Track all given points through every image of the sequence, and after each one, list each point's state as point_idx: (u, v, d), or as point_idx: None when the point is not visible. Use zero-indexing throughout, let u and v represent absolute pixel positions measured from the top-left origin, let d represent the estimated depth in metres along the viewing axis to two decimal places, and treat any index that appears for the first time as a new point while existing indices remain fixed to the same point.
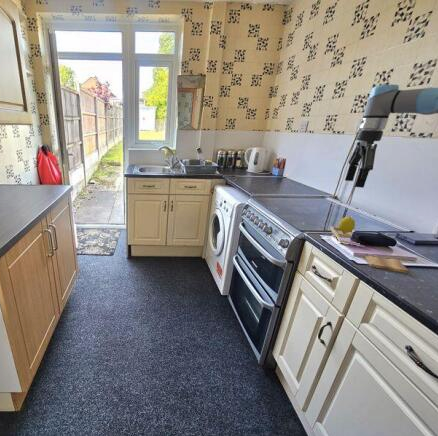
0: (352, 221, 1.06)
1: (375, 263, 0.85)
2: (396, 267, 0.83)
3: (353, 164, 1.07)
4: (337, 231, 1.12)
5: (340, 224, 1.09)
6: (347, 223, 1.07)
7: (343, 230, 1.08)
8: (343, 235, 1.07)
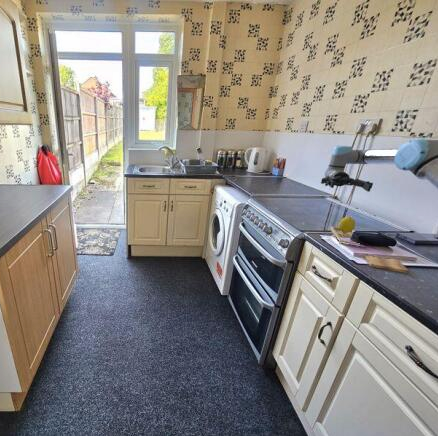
0: (352, 221, 1.06)
1: (375, 263, 0.85)
2: (396, 267, 0.83)
3: None
4: (337, 231, 1.12)
5: (340, 224, 1.09)
6: (347, 223, 1.07)
7: (343, 230, 1.08)
8: (343, 235, 1.07)
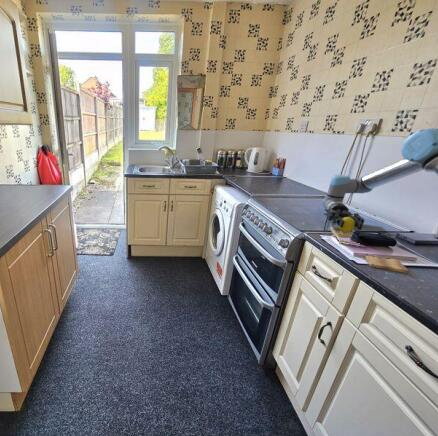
0: (352, 221, 1.06)
1: (375, 263, 0.85)
2: (396, 267, 0.83)
3: None
4: (337, 231, 1.12)
5: None
6: (347, 223, 1.07)
7: (343, 230, 1.08)
8: (343, 235, 1.07)
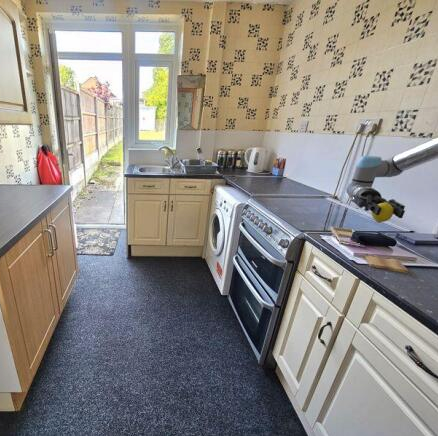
0: (390, 207, 0.87)
1: (375, 263, 0.85)
2: (396, 267, 0.83)
3: None
4: (337, 231, 1.12)
5: None
6: (384, 210, 0.87)
7: (378, 219, 0.89)
8: (343, 235, 1.07)
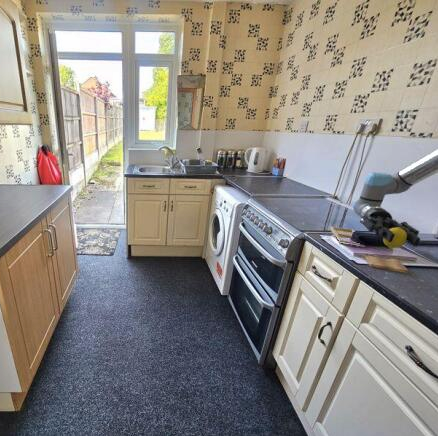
0: (404, 233, 0.80)
1: (375, 263, 0.85)
2: (396, 267, 0.83)
3: None
4: (337, 231, 1.12)
5: None
6: (397, 236, 0.81)
7: (390, 245, 0.83)
8: (343, 235, 1.07)
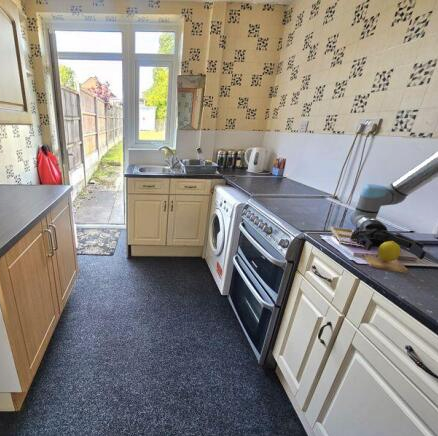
0: (397, 247, 0.82)
1: (375, 263, 0.85)
2: (396, 267, 0.83)
3: None
4: (337, 231, 1.12)
5: (380, 250, 0.85)
6: (390, 250, 0.83)
7: (385, 258, 0.85)
8: (343, 235, 1.07)
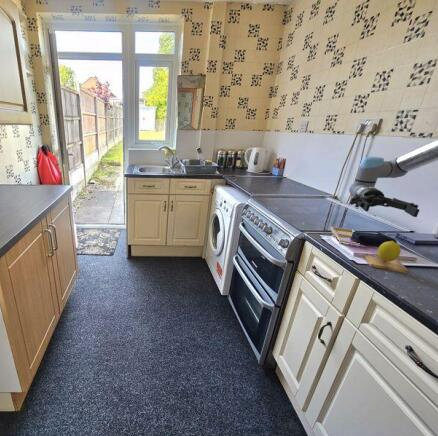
0: (397, 247, 0.82)
1: (375, 263, 0.85)
2: (396, 267, 0.83)
3: None
4: (337, 231, 1.12)
5: (380, 250, 0.85)
6: (390, 250, 0.83)
7: (385, 258, 0.85)
8: (343, 235, 1.07)
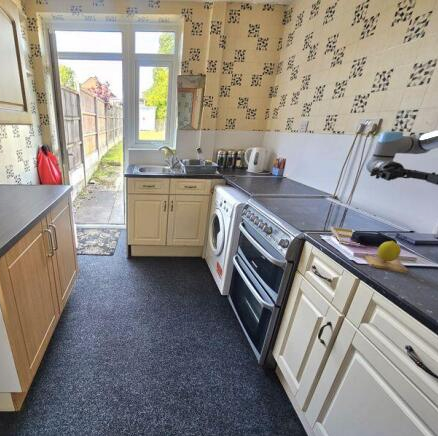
0: (397, 247, 0.82)
1: (375, 263, 0.85)
2: (396, 267, 0.83)
3: None
4: (337, 231, 1.12)
5: (380, 250, 0.85)
6: (390, 250, 0.83)
7: (385, 258, 0.85)
8: (343, 235, 1.07)
